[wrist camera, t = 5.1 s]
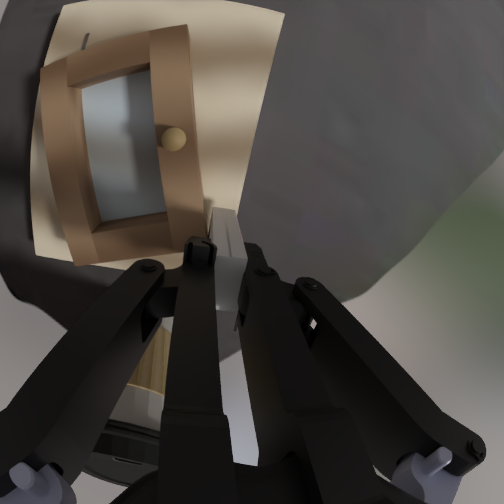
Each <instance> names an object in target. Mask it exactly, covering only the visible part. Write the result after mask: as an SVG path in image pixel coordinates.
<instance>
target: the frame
mask: <svg viewBox="0 0 504 504" xmlns="http://www.w3.org/2000/svg"><path fill="white" fill-rule="evenodd" d="M40 97H41V114H42V126H43V135H44V143H45V151H46V157H47V163H48V169H49V174H50V179H51V184H52V189H53V193H54V198H55V202H56V206H57V210H58V214H59V217H60V221H61V225H62V228H63V231H64V235H65V238H66V241H67V244H68V247H69V250H70V253H71V256H72V259H73V262H74V265H75V266H83V265H90V264H98V263H105V262H113V261H120V260H128V259H135V258H143V257H151V256H159V255H167V254H174V253H182V252H184V246H185V243H186V242H187V240H188V239H189V238H190V237H191V236H197V237H205V238H208V227H207V220H206V212H205V204H204V196H203V187H202V179H201V169H200V160H199V150H198V140H197V130H196V118H195V106H194V93H193V79H192V62H191V43H190V35H189V30H188V26H187V24H184V25H177V26H171V27H165V28H159V29H154V30H150V31H145V32H141V33H136V34H132V35H128V36H125V37H121V38H118V39H114V40H111V41H108V42H104V43H101V44H98V45H95V46H92V47H90V48H87V49H84V50H81V51H79V52H76V53H74V54H71V55H69V56H66V57H64V58H62V59H59V60H57V61H55V62H53V63H51V64H49V65H46V66H44V67H42V68H40Z"/></svg>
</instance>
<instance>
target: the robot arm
mask: <svg viewBox="0 0 504 504" xmlns="http://www.w3.org/2000/svg"><path fill="white" fill-rule="evenodd" d="M237 304H238V306H239V310H238V314H237V318H236V323H235V327H234V331H236V330H237V327H238V330H239V336H240V343H241V349H242V356H243V362H244V368H245V374H246V380H247V385H248V392H249V398H250V403H251V409H252V415H253V421H254V426H255V432H256V437H257V443H258V447H259V457H258V466H251V465H245V464H240V463H235V462H233V454H232V446H231V437H230V428H229V422H228V418H227V415H224V413H223V407H222V395H221V384H220V383H221V382H220V370H219V354H218V337H217V319H216V310H225V311H236V308H237ZM167 317H174V318H173V325H172V332H171V340H170V348H169V356H168V365H167V374H166V384H165V395H164V406H163V410H162V413H161V422H160V438H159V460H158V469H157V470H155V471H152V472H150V473H148V474H146V475H144V476H142V477H141V478H139V479H137V480H136V481H135V482H134V483H132V484H131V485H130V486H129V487H128V488H127V489H126V490H125V491H123V492H122V493H121V494H120V495H119V496H118V497H117V498H115V499H114V500H113V501H112V502H111V503H110V504H452V502H453V500H454V497H455V495H456V492H457V490H458V487H459V485H460V482H461V479H462V477H463V476H464V475H465V474H466V473H468V472H469V471H470V470H472V469H473V468H475V467H476V466H478V465H479V464H480V463H481V462H483V461H484V459H485V456H486V447H485V443H484V441H483V440H482V438H481V437H480V436H479V435H477V434H476V433H474V432H473V431H471V430H469V429H468V428H467V427H465V426H464V425H462V424H460V423H459V422H457V421H456V420H454V419H453V418H451V417H450V416H448V415H447V414H445V413H444V412H442V411H441V409H440V408H439V407H438V406H437V405H436V404H435V403H434V402H433V400H432V399H431V398H430V397H429V396H428V395H427V394H426V393H425V392H424V391H423V390H422V388H421V387H420V386H419V385H418V384H417V383H416V382H415V381H414V380H413V378H412V377H411V376H410V375H409V374H408V373H407V372H406V371H405V370H404V369H403V368H402V367H401V366H400V365H399V364H398V362H397V361H396V360H395V359H394V358H393V357H392V356H391V355H390V354H389V353H388V352H387V351H386V350H385V348H383V347H382V345H381V344H380V343H379V342H378V341H377V340H376V339H375V338H374V337H373V336H372V335H371V334H370V333H369V332H368V331H367V330H366V329H365V328H364V327H363V326H362V324H361V323H360V322H359V321H358V320H357V319H356V318H355V317H354V316H353V315H352V314H351V313H350V312H349V311H348V310H347V309H346V308H345V307H344V306H343V305H342V304H341V303H340V302H339V301H338V300H337V299H336V298H335V297H334V296H333V295H332V294H331V293H330V292H329V291H328V290H327V289H326V288H325V287H324V286H323V285H322V284H321V283H320V282H318V281H316V280H315V279H313V278H310V277H300V278H298V279H296V282H295V285H293V284H290V283H286V282H283V281H281V280H280V277H279V275H278V273H277V272H276V271H275V270H274V269H272V268H271V267H268V265H267V262H266V260H265V258H264V255H263V252H262V249H261V248H260V247H259V246H258V245H257V244H253V243H246V242H243V239H242V235H241V231H240V227H239V224H238V220H237V216H236V212H235V210H232V209H225V208H219V207H213V208H212V214H211V220H210V226H209V232H208V238H205V237H197V236H191V237H190V238H189V239H188V240H187V242H186V243H185V246H184V255H183V263H182V265H181V266H179V267H177V268H174V269H165V267H164V265H163V264H162V263H161V262H160V261H157V260H154V259H148V258H146V259H141V260H137V261H136V262H134V263H133V264H132V265H131V266H130V267H129V268H128V269H127V270H126V271H125V272H124V273H123V274H122V275H121V276H120V277H119V278H118V279H117V280H116V281H115V282H114V283H113V284H112V285H111V286H110V287H109V288H108V289H107V290H106V291H105V292H104V293H103V294H102V295H101V296H100V297H99V298H98V299H97V300H96V301H95V302H94V303H93V304H92V305H91V306H90V307H89V308H88V309H87V311H86V312H85V313H84V314H83V315H82V316H81V317H80V318H79V319H78V320H77V321H76V322H75V324H74V325H73V326H72V327H71V328H70V329H69V330H68V331H67V332H66V334H65V335H64V336H63V337H62V338H61V339H60V341H59V342H58V343H57V344H56V345H55V346H54V347H53V349H52V350H51V351H50V352H49V353H48V355H47V356H46V357H45V358H44V359H43V361H42V362H41V363H40V364H39V365H38V367H37V368H36V369H35V370H34V372H33V373H32V374H31V375H30V377H29V378H28V379H27V381H26V382H25V383H24V385H23V386H22V387H21V388H20V390H19V391H18V392H17V394H16V395H15V397H14V398H13V399H12V401H11V402H10V404H9V405H8V406H7V408H5V409H4V410H2V411H1V412H0V504H76V502H77V501H76V496H75V493H74V491H73V489H72V488H71V485H72V484H73V482H74V481H75V480H76V478H77V477H78V476H79V475H80V473H81V472H82V470H83V468H84V466H85V465H86V463H87V461H88V459H89V457H90V455H91V453H92V451H93V449H94V447H95V445H96V443H97V441H98V439H99V437H100V435H101V433H102V431H103V429H104V427H105V425H106V423H107V421H108V419H109V417H110V415H111V413H112V411H113V409H114V407H115V406H116V404H117V402H118V400H119V398H120V396H121V394H122V392H123V391H124V389H125V387H126V385H127V383H128V381H129V380H130V378H131V376H132V374H133V372H134V370H135V369H136V367H137V365H138V363H139V361H140V360H141V358H142V356H143V354H144V353H145V351H146V349H147V347H148V346H149V344H150V342H151V340H152V339H153V337H154V335H155V333H156V332H157V330H158V328H159V327H160V325H161V323H162V319H163V318H167ZM313 319H314V320H315V321H316V323H317V324H316V327H315V328H314V329H313V328H312V327H311V326H310V325H311V322H312V320H313ZM372 464H373V465H374V467H375V468H377V470H378V471H379V472H381V473H382V474H383V475H384V476H385V477H387V478H388V479H389V480H391V481H390V482H388V481H386V480H384V479H383V478H381V477H380V476H378V475H377V474H376V472H375V469H374V467H373V465H372Z"/></svg>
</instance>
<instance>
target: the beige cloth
mask: <svg viewBox="0 0 504 504" xmlns="http://www.w3.org/2000/svg"><path fill="white" fill-rule="evenodd" d="M284 15H285V14H283V13H280V12H276V11H273V10H269V9H265V8H260V7H256V6H251V5H247V4H242V3H236V2H230V1H224V0H89V1H83V2H78V3H73V4H68V5H64V6H63V9H62V11H61V14H60V16H59V19H58V21H57V24H56V27H55V30H54V33H53V36H52V39H51V42H50V45H49V48H48V52H47V55H46V59H45V63H44V66H46V65H49V64H51V63H53V62H55V61H57V60H59V59H62V58H64V57H66V56H69V55H71V54H74V53H76V52H79V51H81V50H84V49H87V48H90V47H92V46H95V45H98V44H101V43H104V42H108V41H111V40H114V39H118V38H121V37H125V36H128V35H132V34H136V33H141V32H145V31H150V30H154V29H159V28H165V27H171V26H177V25H184V24H187V26H188V30H189V35H190V43H191V62H192V79H193V93H194V106H195V118H196V130H197V140H198V150H199V160H200V169H201V179H202V187H203V196H204V204H205V212H206V220H207V227H208V232H209V226H210V220H211V214H212V208H213V207H219V208H225V209H232V210H235V212H236V216H237V212H238V207H239V203H240V198H241V193H242V189H243V184H244V180H245V175H246V171H247V166H248V162H249V157H250V153H251V148H252V144H253V140H254V135H255V131H256V127H257V123H258V118H259V114H260V110H261V106H262V102H263V97H264V93H265V89H266V85H267V81H268V77H269V73H270V69H271V65H272V61H273V57H274V53H275V49H276V46H277V42H278V38H279V34H280V30H281V26H282V23H283V19H284ZM30 195H31V214H32V226H33V236H34V244H35V251H36V255H39V256H44V257H50V258H55V259H61V260H67V261H73V259H72V256H71V253H70V250H69V247H68V244H67V241H66V238H65V235H64V231H63V228H62V225H61V221H60V217H59V214H58V210H57V206H56V202H55V198H54V193H53V189H52V184H51V179H50V174H49V169H48V163H47V157H46V151H45V143H44V135H43V126H42V114H41V97H40V85H39V90H38V95H37V101H36V107H35V114H34V122H33V132H32V144H31V163H30ZM183 255H184V252H182V253H174V254H167V255H159V256H151V257H143V258H135V259H128V260H120V261H113V262H105V263H98V264H91V265H98V266H104V267H110V268H117V269H124V270H127V269H128V268H129V267H130V266H131V265H132V264H133V263H134V262H136V261H137V260H141V259H146V258H148V259H154V260H157V261H160V262H161V263H162V264H163V265H164V267H165V269H174V268H177V267H179V266H181V265H182V263H183Z"/></svg>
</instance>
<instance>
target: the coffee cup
mask: <svg viewBox="0 0 504 504" xmlns="http://www.w3.org/2000/svg"><path fill="white" fill-rule="evenodd" d="M173 318H174V317H167V318H163V319H162V323H161V325H160V327H159V328H158V330H157V332H156V333H155V335H154V337H153V339H152V340H151V342H150V344H149V346H148V347H147V349H146V351H145V353H144V354H143V356H142V358H141V360H140V361H139V363H138V365H137V367H136V369H135V370H134V372H133V374H132V376H131V378H130V380H129V381H128V383H127V385H126V387H125V389H124V391H123V392H122V394H121V396H120V398H119V400H118V402H117V404H116V406H115V407H114V409H113V411H112V413H111V415H110V417H109V419H108V421H107V423H106V425H105V427H104V429H103V431H102V433H101V435H100V437H99V439H98V441H97V443H96V445H95V447H94V449H93V451H92V453H91V455H90V457H89V459H88V461H87V463H86V465H85V466H84V468H83V470H82V471H83V472H85V473H87V474H89V475H91V476H93V477H96V478H98V479H101V480H104V481H107V482H111V483H114V484H117V485H121V486H125V487H129V486H130V485H131V484H132V483H134V482H135V481H136V480H137V479H139V478H141V477H142V476H144V475H146V474H148V473H150V472H152V471H155V470H157V469H158V460H159V438H160V422H161V413H162V410H163V406H164V395H165V384H166V374H167V365H168V356H169V348H170V340H171V332H172V325H173Z"/></svg>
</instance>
